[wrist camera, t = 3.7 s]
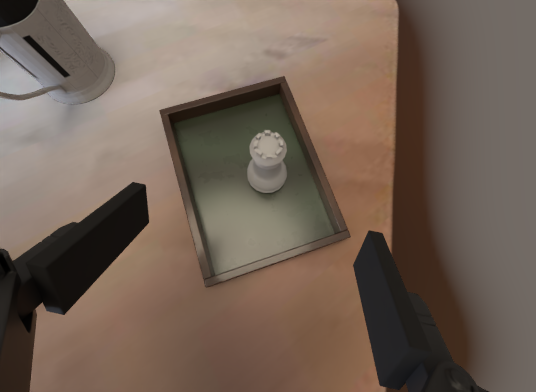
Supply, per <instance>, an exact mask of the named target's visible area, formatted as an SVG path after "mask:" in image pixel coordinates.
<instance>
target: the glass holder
mask: <svg viewBox="0 0 536 392" xmlns="http://www.w3.org/2000/svg"><path fill="white" fill-rule="evenodd" d="M0 51H1V52H3V53H4V54H5V55H6V56H7V57H9V58H10V59H11V60H12V61H14V62H15V63H16V64H17V65H19V66H20V67H21V68H22V69H23V70H25V71H26V72H27V73H28V74H30V75H31V76H32V77H33V78H35V79H36V80H37V81H38V82H39V83H41V84H42V85H43V87H44V88H42V89H40V90H37V91H35V92H32V93H28V94H24V95H13V94H7V93H3V92H0V98H5V99H11V100H25V99H30V98H33V97H36V96H40V95H42V94H45V93H48V94H49V95H50V96H51V97H52V98H53V99H55V100H57V101H59V102H62V103H66V104H81V103H85V102H88V101H91V100H93V99H95V98H97V97H99V96H100V95H101V94H102V93H104V92H105V91H106V90H107V89H108V87H109V86H110V84H111V83H112V81H113V78H114V74H115V66H114V62H113V60H112V58H111V57H110V55H109V54H108V53H107V52H106V51H104V50H103V49H101V48H99V47H98V46H97V44H96V43H95V42H94V40H93V39H92V38H91V36H90V35H89V34H88V32H87V31H86V30H85V28H84V27H83V26H82V24H81V23H80V22H79V20H78V19H77V18H76V16H75V15H74V14H73V12H72V11H71V10H70V9H69V7H68V6H67V5H66V3H65V2H64V1H63V0H0Z"/></svg>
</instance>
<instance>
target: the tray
mask: <svg viewBox="0 0 536 392" xmlns="http://www.w3.org/2000/svg"><path fill="white" fill-rule="evenodd" d="M276 94H277V95H276ZM269 96H270V97H269ZM251 101H252V102H251ZM244 103H245V104H244ZM226 108H227V109H226ZM219 110H220V111H219ZM208 113H209V114H208ZM160 114H161V118H162V122H163V126H164V130H165V134H166V137H167V141H168V145H169V149H170V153H171V157H172V160H173V164H174V168H175V172H176V176H177V180H178V183H179V187H180V191H181V195H182V199H183V203H184V206H185V210H186V214H187V218H188V222H189V225H190V229H191V233H192V237H193V241H194V245H195V248H196V252H197V256H198V260H199V264H200V268H201V271H202V275H203V279H204V283H205V286H206V287H210V286H212V285H215V284H218V283H221V282H224V281H227V280H230V279H232V278H235V277H238V276H241V275H244V274H247V273H250V272H253V271H255V270H258V269H261V268H264V267H267V266H270V265H273V264H275V263H278V262H281V261H284V260H287V259H290V258H293V257H295V256H298V255H301V254H304V253H307V252H310V251H313V250H315V249H318V248H321V247H324V246H327V245H330V244H333V243H335V242H338V241H341V240H344V239H347V238H350V237H351V236H350V234H349V231H348V228H347V226H346V224H345V221H344V219H343V216H342V214H341V212H340V209H339V207H338V204H337V202H336V199H335V197H334V195H333V192H332V190H331V187H330V185H329V183H328V180H327V178H326V175H325V173H324V171H323V168H322V166H321V163H320V161H319V158H318V156H317V154H316V151H315V149H314V146H313V144H312V142H311V139H310V137H309V134H308V132H307V130H306V127H305V125H304V122H303V120H302V117H301V115H300V113H299V110H298V108H297V105H296V103H295V101H294V98H293V96H292V93H291V91H290V89H289V86H288V84H287V82H286V79H285V76H283V77H279V78H276V79H272V80H268V81H265V82H261V83H257V84H254V85H250V86H246V87H243V88H239V89H235V90H232V91H228V92H224V93H221V94H217V95H213V96H210V97H206V98H202V99H199V100H195V101H191V102H188V103H184V104H180V105H177V106H173V107H169V108H166V109H162V110H160ZM201 115H202V116H201ZM183 120H184V121H183ZM176 122H177V123H176ZM174 126H175V127H174ZM264 130H270V132H273V133H275V132H277V133H278V134H279V135H280V136H281V137H282V138H283V139H284V141H285V143H286V148H287V152H286V154H285V157H284V158H283V159H282V160H283V162H284V163H285V165H286V170H287V177H286V180H285V183H284V184H283V186H282V187H281V188H280V189H279V190H276V191H274V192H272V193H263V192H260V191H257V190H256V189H254V188H253V187H252V186H251V185H250V183H249V181H248V178H247V168H248V166H249V163H250V161H251V160H252V159H253V158H252V156H251V154H250V147H249V146H250V143H251V141H252V139H253V138H254V137H255V136H256V135H257V134H258V133H262V132H264ZM177 137H178V138H177ZM180 148H181V149H180ZM322 201H323V202H322ZM324 206H325V207H324ZM326 211H327V212H326ZM328 216H329V217H328ZM330 221H331V222H330ZM332 226H333V227H332ZM334 231H335V232H334ZM203 232H204V233H203ZM206 243H207V244H206ZM209 254H210V255H209ZM212 265H213V266H212Z"/></svg>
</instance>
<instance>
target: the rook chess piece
mask: <svg viewBox="0 0 536 392" xmlns="http://www.w3.org/2000/svg"><path fill="white" fill-rule="evenodd" d="M249 147H250V154H251V156H252V158H253V159H252V160H251V161H250V163H249V166H248V168H247V178H248V181H249V183H250V185H251V186H252V187H253V188H254V189H256V190H257V191H260V192H263V193H272V192H274V191H276V190H279V189H280V188H281V187H282V186H283V184H284V183H285V180H286V177H287V170H286V165H285V163H284V162H283V160H282V159H283V158H284V157H285V154H286V152H287V148H286V143H285V141H284V139H283V138H282V137H281V136H280V135H279V134H278V133H277V132H275V133H273V132H270V130H264V132H262V133H258V134H257V135H256V136H255V137H254V138H253V139H252V141H251V143H250V146H249Z"/></svg>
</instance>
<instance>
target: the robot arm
mask: <svg viewBox="0 0 536 392" xmlns="http://www.w3.org/2000/svg"><path fill="white" fill-rule="evenodd" d="M148 223H149V216H148V205H147V195H146V185H144V184H140V183H135V182H132V183H131V184H130V185H128V186H127V187H126V188H124V189H123V190H122V191H120V192H119V193H118V194H116V195H115V196H114V197H112V198H111V199H110V200H108V201H107V202H106V203H104V204H103V205H102V206H101V207H99V208H98V209H97V210H95V211H94V212H93V213H91V214H90V215H89V216H87V217H86V218H85V219H83V220H82V221H81V222H79V223H76V222H72V223H70V224H67V225H65V226H63V227H60V228H59V229H58V230H56V231H55V232H53V233H52V234H51V235H50V236H48V237H46V238H45V239H44V240H42V242H39V243H38V244H37V245H35V246H34V247H32V248H31V249H30V250H28V251H27V252H25V253H24V254H23V255H21V256H20V257H18V258H17V259H16V260H14V261H13V262H12V259H11V257H10V255H9V253H8V251H6V250H4V249H0V392H29V390H30V380H31V370H32V359H33V349H34V339H35V328H36V318H37V313H36V310H35V309H36V308H37V307H38V306H39V305H40V304H41V303H42V302H43V304H44V306H45V308H46V311H49V312H53V313H58V314H62V315H65V314H66V312H67V311H68V310H69V309H70V308H71V307H72V306H73V305H74V304H75V303H76V302H77V301H78V299H79V298H80V297H81V296H82V295H83V294H84V293H85V292H86V291H87V290H88V289H89V287H90V286H91V285H92V284H93V283H94V282H95V281H96V280H97V279H98V278H99V277H100V275H101V274H102V273H103V272H104V271H105V270H106V269H107V268H108V267H109V266H110V265H111V263H112V262H113V261H114V260H115V259H116V258H117V257H118V256H119V255H120V254H121V253H122V252H123V250H124V249H125V248H126V247H127V246H128V245H129V244H130V243H131V242H132V241H133V240H134V238H135V237H136V236H137V235H138V234H139V233H140V232H141V231H142V230H143V229H144V228H145V226H146V225H147V224H148ZM353 267H354V271H355V276H356V280H357V285H358V289H359V294H360V298H361V303H362V307H363V312H364V316H365V321H366V325H367V330H368V334H369V339H370V343H371V348H372V352H373V357H374V361H375V366H376V370H377V375H378V379H379V384H380V386H383V387H388V388H393V389H397V390H400V389H401V387H402V386H403V385H404V384H405V383H406V385H407V388H408V392H488V391H486V390H484V389H482V388H481V387H479V386H477V385H476V383H475V381H474V380H473V379H472V377H471V376H470V375H469V374H468V373H467V372H466V371H465V370H464V369H463V368H462V367H461V366H459V365H457V364H456V363H454V361H453V359H452V357H451V355H450V353H449V351H448V349H447V347H446V345H445V343H444V340H443V338H442V336H441V334H440V332H439V330H438V328H437V327H436V324H435V321H434V319H433V318H432V317H431V313H430V311H429V309H428V307H427V305H426V303H425V302H424V301H423V300H422V299H421V298H420V297H419V295H418V294H415V293H410V292H407V291H406V288H405V286H404V283H403V281H402V279H401V276H400V274H399V271H398V270H397V267H396V264H395V262H394V260H393V257H392V255H391V253H390V250H389V248H388V245H387V243H386V241H385V238H384V236H383V234H382V233H379V232H374V231H370V230H369V231H368V233H367V236H366V238H365V240H364V242H363V245H362V247H361V249H360V251H359V253H358V256H357V258H356V260H355V262H354V264H353Z"/></svg>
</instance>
